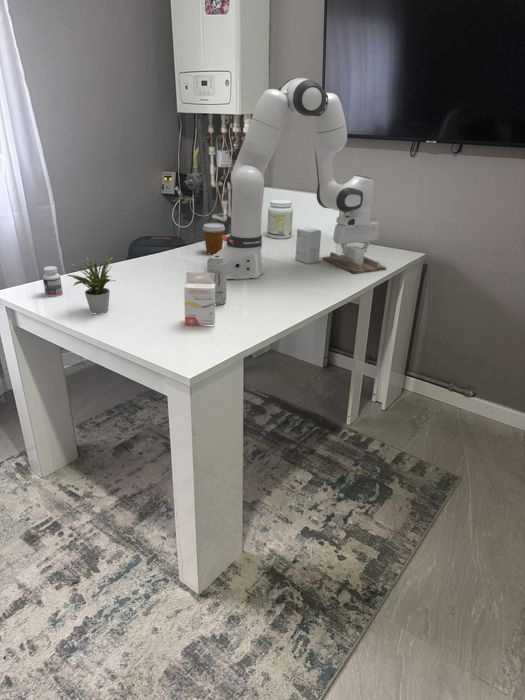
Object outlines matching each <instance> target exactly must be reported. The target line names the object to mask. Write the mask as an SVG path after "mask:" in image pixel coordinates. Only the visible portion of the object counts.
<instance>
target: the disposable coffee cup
mask: <svg viewBox="0 0 525 700" xmlns="http://www.w3.org/2000/svg"><path fill="white" fill-rule="evenodd" d="M225 230H226V227H225V225H224V224H222V223H219V222H207V223H204V224H203V226H202V231H203V234H204V235H203V236H204V243H205V244H204V245H205V251H206V254H207V253H210V254H216V253H217V252H218V251H220V250H221V249H222V248H223V243H224V240H223V239H222V236H223V235H225Z"/></svg>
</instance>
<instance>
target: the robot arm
mask: <svg viewBox="0 0 525 700" xmlns="http://www.w3.org/2000/svg"><path fill="white" fill-rule="evenodd" d="M291 114H295V115H299V116H304V117H311V120H312V122H313V128H314V134H315V141H316V143H315V144H316V145H315V146H316V147H315V152H314V153H315V154H314V155H315V165H316V174H317V175H316V177H317V190H316V201H317V203H318V204H319V206H320V207H322V208H325V209H330V210H334V211H337V212H342V213H344V214H341V215H339V216H337V217H336V221H335V222H336V223H337V224H336V225H335V226H334V231H333V239H332V240H333V242H334V243H335V244H338V245H340V247H341V248H342V249H341V250H342V255H345V254H348V250H347V249H346V246H348V244H354V243H364V245H363V246H362V247H361V248H363V249H365V253H367V252H368V248H369V246H370V244H371V242H376V241H378V239H379V236H380V235H379V232H380V229H379V228H380V227H379V226H380V225H379V224H380V220H379V218H377V217H375V216H373V217H371V213H372V208H371V206H372V202H373V197H374V181H373V179H372V178H371V177H369V176H364V175H359V174H357V175H354V176H353V177H352V178H351V179H350V180H349V181H347V182H345V183H343V184H340V183H337V182H336V180H335V179H334V167H333V158H334V156H335V154H337V153H339V152H340V151H341V150H343V148H344V147H345V146H346V144H347V142H348V129H347V123H346V116H345V113H344V110H343V105H342V103H341V101H340V98H339V96H338V95H337V94H336V93H333V92H325V89H323V87H322V86H321V85H320V84H319V83H318V82H317V81H316V80H312V79H308V78H305V77H294V78H290V79H288V80H287V81H286V82H284V83H283V85H281V87H279V88H278V89H275V88H269V89H266V90H265V91H264V92H263V93H262V94H261V97H260V98H259V100H258V102H257V104H256V107H255V109H254V111H253V113H252V117H251V119H250V122H249V125H248V129H247V130H246V134H245V137H244V140H243V143H242V145H241V147H240V150H239V152H238V155H237V158H236V159H235V162H234V165H233V168H232V171H231V174H230V182H231V186H232V190H231V191H232V192H231V193H232V195H231V212H230V213H231V214H230V215H231V217H230V219H231V221H230V222H231V224H230V225H231V228H230V234H229V235H226V234H224V235H223V236H222V239H223V242H226V244H225V246H222V249H221V250H220V251H218V252H217V253H216V254H215V255H222V256H224V257H225V258H224V259H225V260H226V281H228V280H227V279H235V280H250V278H253V279H258V278H260V276H261V275H263V274H264V273H265V270H264V267H263V261H262V247H263V240H262V239H263V235H262V214H263V213H262V212H263V204H264V203H263V202H264V191H265V178H264V175H265V172H266V170H267V168H268V165H269V163H270V161H271V160H272V157H273V155H274V153H275V150H276V148H277V145H278V142H279V140H280V137H281V134H282V130H283V129H284V126H285V122H286V121H287V119H288V117H289V116H290V115H291ZM204 269H205V270H204V273H207V267H205V268H204Z"/></svg>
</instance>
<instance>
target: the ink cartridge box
mask: <svg viewBox="0 0 525 700" xmlns="http://www.w3.org/2000/svg"><path fill="white" fill-rule="evenodd" d="M185 274H186V275H185V276H186V277H185V278H186V282H185V285H184V325H214V324H215V322H216V305H215V282H214V277H215V274H214V273H205V272H194V271H193V272H192V271H187V272H185ZM198 277H200V278H198ZM201 277H204V278H201ZM215 325H216V324H215ZM215 325H214V326H215Z"/></svg>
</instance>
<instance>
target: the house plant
mask: <svg viewBox="0 0 525 700" xmlns="http://www.w3.org/2000/svg"><path fill="white" fill-rule="evenodd" d="M113 259H114V257H110V258H109V259H106V260H102V262H101V263H100V265H99V268H98V263H97V260H96V259H94V261H93V263H92V261H91V259H89V257H86V260H87V263H88V264H87V263H84V262H83V261H81V263H82V264H84V265H85V266H86V268H87V269H88V270H89V271H88V270H87V269H86V268H84V266H83V267H82V266H81V265H79V264H74V263H71V265H72V266H75V267H77V268H76V270H77V271H80V272H81V273H83V274H84V276H85V277H82V276H79V275H75V274H67V276H68V277H71V278H73V279H74V280H77V281H76V282H74V283H73V287H74V286H76V285H78V284H79V285H80V284H83V285H84V286H86V287H87V290H85V291H84V294H85V297H86V301H87V304H88V307H89V310H90V313H91V312H92V314H93V313H96V314H95V315H101V313H103V314H106V313H108V312H107V311H109V306H110V304H109V303H110V292H111V291H110V289H109V288H107V287H105V286H106V284H107V283H109V282H112V281H113V282H116V280H115V279H110V278H112V275H107V274H108V272H110V270H111V268H112V266H113V265H111V266H110V264H111V260H113ZM93 264H94V265H93ZM109 266H110V267H109ZM108 267H109V269H108ZM101 268H102V269H101ZM79 269H80V270H79ZM107 269H108V270H107ZM109 277H110V278H109Z"/></svg>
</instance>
